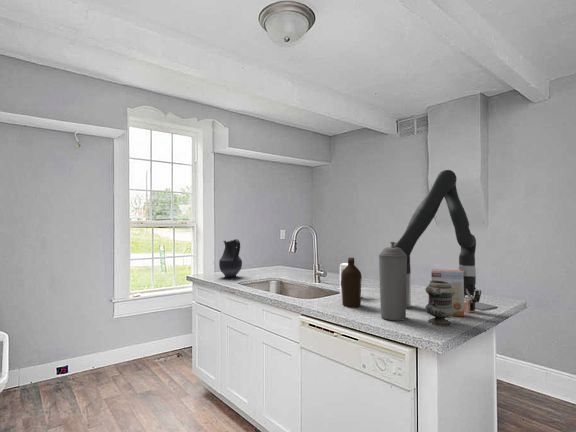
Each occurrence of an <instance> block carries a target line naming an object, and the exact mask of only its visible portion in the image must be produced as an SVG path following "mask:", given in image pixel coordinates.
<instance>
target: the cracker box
mask: <svg viewBox="0 0 576 432" xmlns="http://www.w3.org/2000/svg"><path fill="white" fill-rule="evenodd" d="M432 280H443V281H448V282H450V283H451V287H452V288H453V289H454V290H455V294H454V295H453V296H452V306H453V307H454V309H455V314H454V315H453V316H452V317H461V318H462V317H465V312H464V272H463V270H459V269H442V268H441V269H439V268H438V269H437V268H433V269H432V270H431V281H432Z"/></svg>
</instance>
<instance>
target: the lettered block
mask: <svg viewBox="0 0 576 432" xmlns="http://www.w3.org/2000/svg"><path fill="white" fill-rule="evenodd" d="M472 300H473V299H472ZM470 303H471V302H470V299H469V298H468V296H465V298H464V313H468V314H469V313H470V314H471V313H474V312H476V309H475V310H474V311H471V310H470Z"/></svg>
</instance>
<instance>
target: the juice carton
mask: <svg viewBox="0 0 576 432" xmlns="http://www.w3.org/2000/svg"><path fill="white" fill-rule="evenodd" d="M347 265H348V262H342V263H340V264H339V295H340V297H342V283H341V274H342V271H343V270H344V269H345V268H346V267H347ZM354 265H355V266H356V263H354ZM356 267H357V266H356Z"/></svg>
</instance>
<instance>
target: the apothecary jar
mask: <svg viewBox="0 0 576 432" xmlns="http://www.w3.org/2000/svg"><path fill="white" fill-rule="evenodd" d="M425 292H426V294H427V295H428V303H427V304H426V305H425V307H424V310H425V312H426V313H427V314H428V315H430V316H432V318H429V319H428V320H427V322H428V323H429V324H431V323H432V324H431V325H434V324H435V326H438V325H443V326H442V327H447V326H452V325H453V322H452V321H451V320H449V319H446V318H450V317H454V316H453V315H454V314H455V309H454V307H453V306H452V296H453V295H454V294H455V290H454V289H453V288H452V287H451V283H450V282H448V281H443V280H432V279H431V280H430V281H429V284H428V285H427V286H426V287H425ZM446 325H447V326H446Z"/></svg>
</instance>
